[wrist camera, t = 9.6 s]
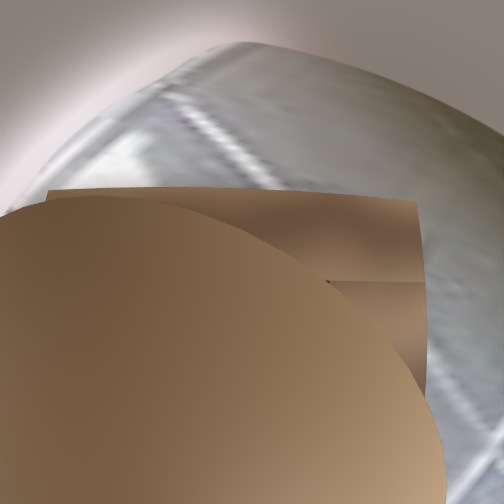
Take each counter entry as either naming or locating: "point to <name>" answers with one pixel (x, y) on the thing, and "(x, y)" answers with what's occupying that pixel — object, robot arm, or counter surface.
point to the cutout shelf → (327, 247)
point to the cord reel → (193, 369)
